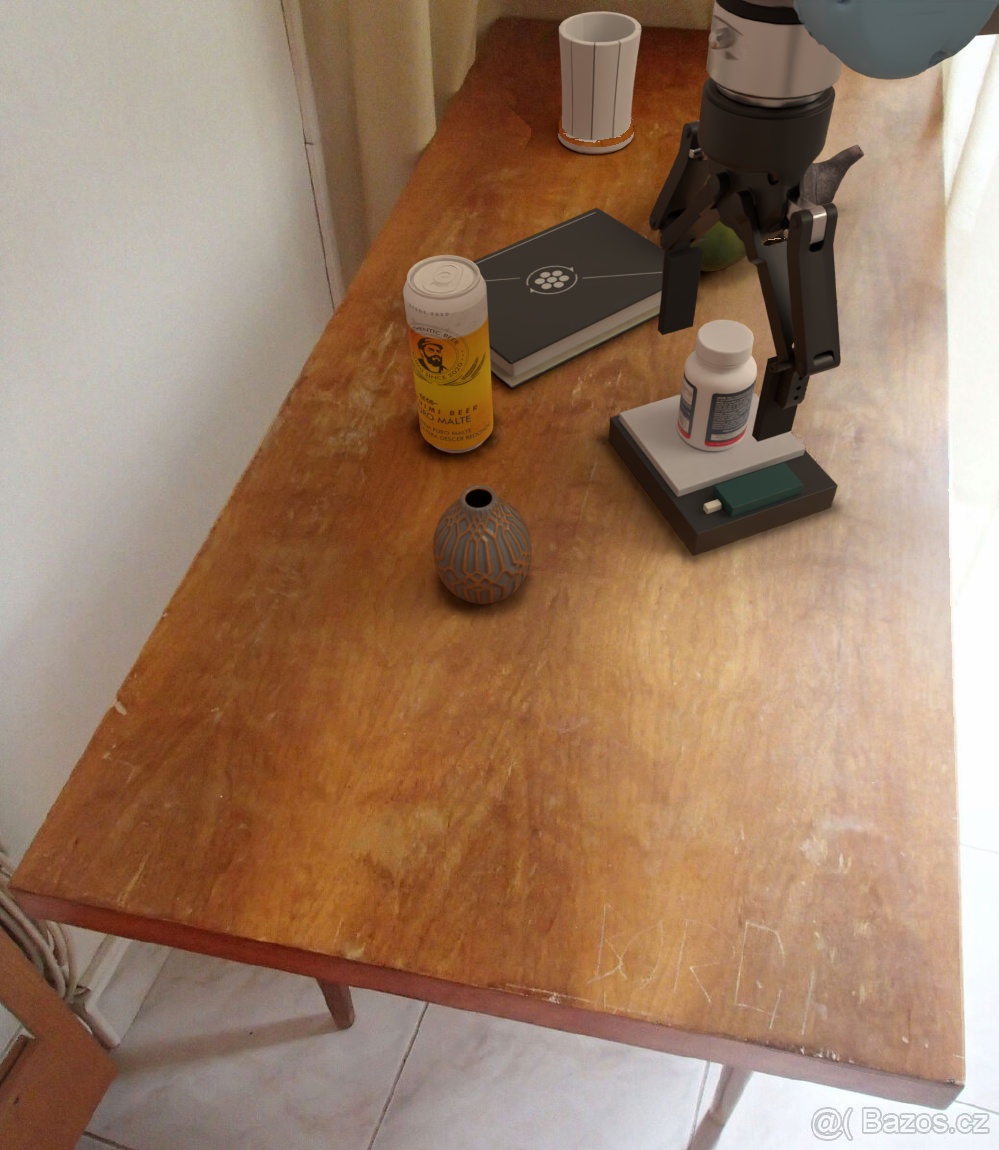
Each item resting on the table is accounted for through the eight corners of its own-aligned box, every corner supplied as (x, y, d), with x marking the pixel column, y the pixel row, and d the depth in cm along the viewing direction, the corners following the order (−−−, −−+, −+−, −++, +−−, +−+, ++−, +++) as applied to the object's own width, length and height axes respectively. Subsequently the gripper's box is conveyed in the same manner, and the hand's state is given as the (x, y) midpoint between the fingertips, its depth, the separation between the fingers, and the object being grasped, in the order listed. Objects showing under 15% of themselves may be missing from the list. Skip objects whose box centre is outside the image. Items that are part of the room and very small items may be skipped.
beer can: (410, 449, 81) (388, 292, 70) (436, 403, 85) (419, 246, 74) (479, 463, 80) (469, 305, 69) (503, 416, 84) (496, 258, 72)
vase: (533, 618, 70) (532, 534, 63) (435, 620, 70) (424, 537, 63) (530, 545, 74) (529, 459, 67) (438, 547, 74) (428, 462, 68)
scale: (831, 507, 76) (841, 475, 73) (693, 556, 73) (698, 524, 70) (734, 399, 84) (740, 367, 81) (608, 439, 81) (610, 407, 79)
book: (593, 232, 102) (595, 205, 99) (694, 298, 94) (698, 270, 91) (418, 311, 94) (414, 284, 91) (511, 390, 86) (510, 362, 84)
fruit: (778, 229, 101) (797, 132, 93) (773, 299, 93) (794, 200, 85) (664, 219, 103) (673, 124, 95) (649, 287, 95) (659, 189, 87)
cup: (537, 124, 117) (537, 16, 108) (605, 107, 120) (610, -1, 110) (579, 163, 111) (582, 51, 102) (649, 144, 113) (659, 33, 104)
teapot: (855, 253, 98) (881, 155, 90) (697, 249, 99) (710, 152, 92) (833, 159, 110) (854, 66, 102) (692, 157, 111) (703, 65, 104)
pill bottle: (756, 423, 77) (776, 328, 70) (727, 462, 75) (745, 367, 68) (694, 400, 79) (708, 305, 72) (664, 437, 77) (676, 343, 70)
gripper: (613, 17, 64) (599, 302, 80) (844, 192, 48) (769, 501, 64) (715, -3, 65) (681, 279, 81) (970, 159, 50) (866, 468, 66)
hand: (720, 378), depth 73 cm, fingers open, 13 cm apart
